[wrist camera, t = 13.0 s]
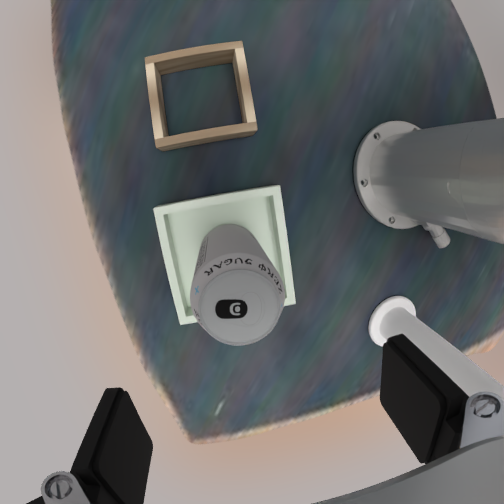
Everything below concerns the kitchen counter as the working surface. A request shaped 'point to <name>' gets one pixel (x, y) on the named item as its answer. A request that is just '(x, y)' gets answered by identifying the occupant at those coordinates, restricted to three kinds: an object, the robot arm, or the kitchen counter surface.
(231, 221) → the tray
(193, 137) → the wooden square frame
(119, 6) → the kitchen counter surface
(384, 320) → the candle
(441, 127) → the robot arm
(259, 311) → the energy drink can
